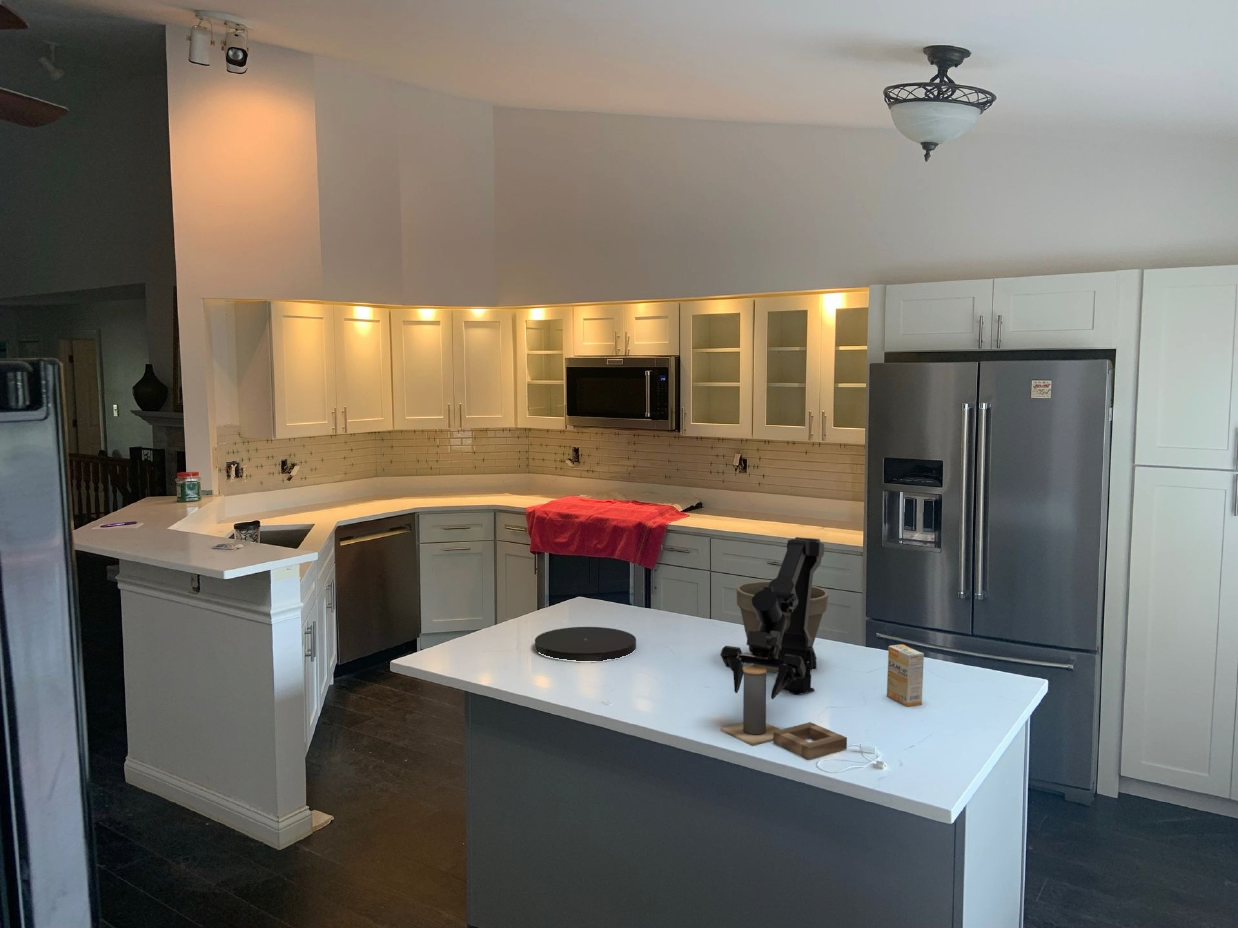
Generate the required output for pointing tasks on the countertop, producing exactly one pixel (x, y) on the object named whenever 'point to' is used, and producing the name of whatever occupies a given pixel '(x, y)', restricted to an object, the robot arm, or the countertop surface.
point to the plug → (754, 700)
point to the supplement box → (905, 675)
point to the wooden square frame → (821, 746)
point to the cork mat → (751, 739)
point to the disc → (585, 643)
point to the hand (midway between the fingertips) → (753, 695)
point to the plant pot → (752, 623)
